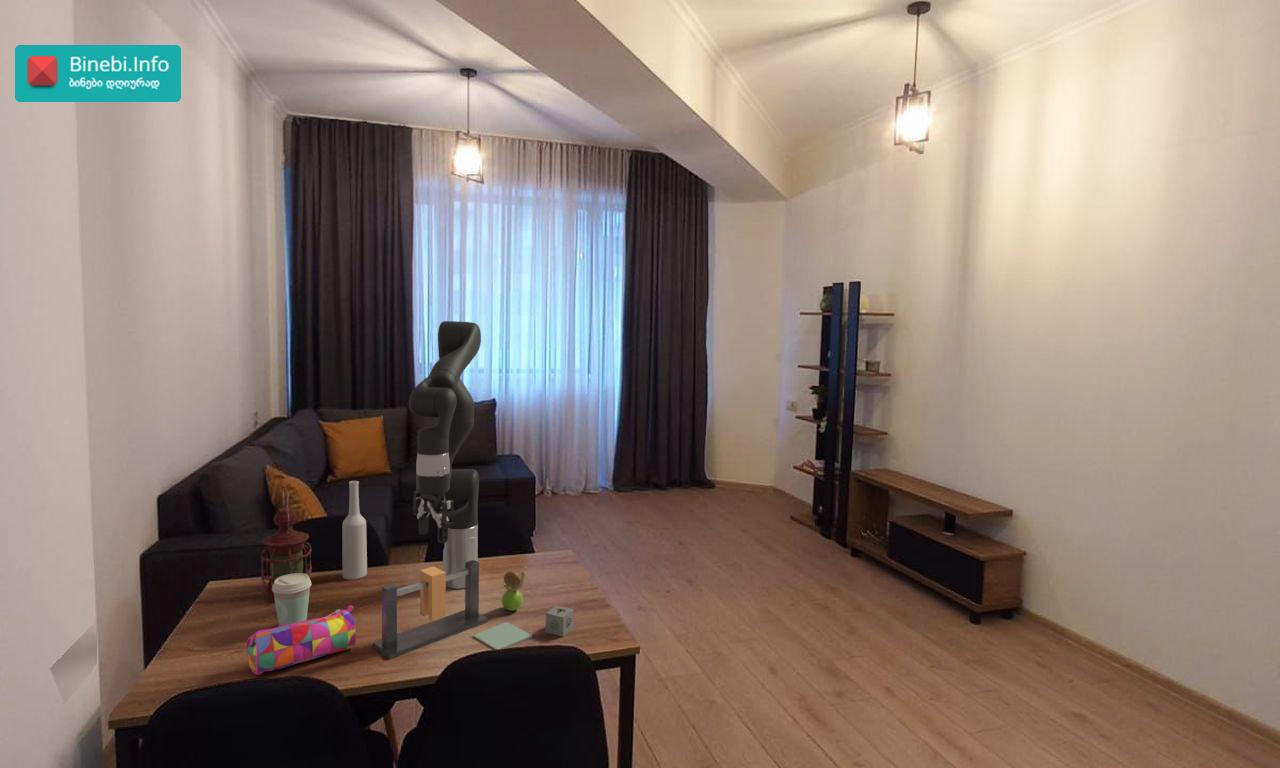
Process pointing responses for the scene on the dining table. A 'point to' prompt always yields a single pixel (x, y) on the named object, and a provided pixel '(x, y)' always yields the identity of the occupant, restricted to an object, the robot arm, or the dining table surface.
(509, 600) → the snail figurine
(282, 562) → the lantern
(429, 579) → the c link
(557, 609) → the dice cube
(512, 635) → the felt mat
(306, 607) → the coffee cup
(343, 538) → the bottle
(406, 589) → the rail stand
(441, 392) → the robot arm
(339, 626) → the pencil case
